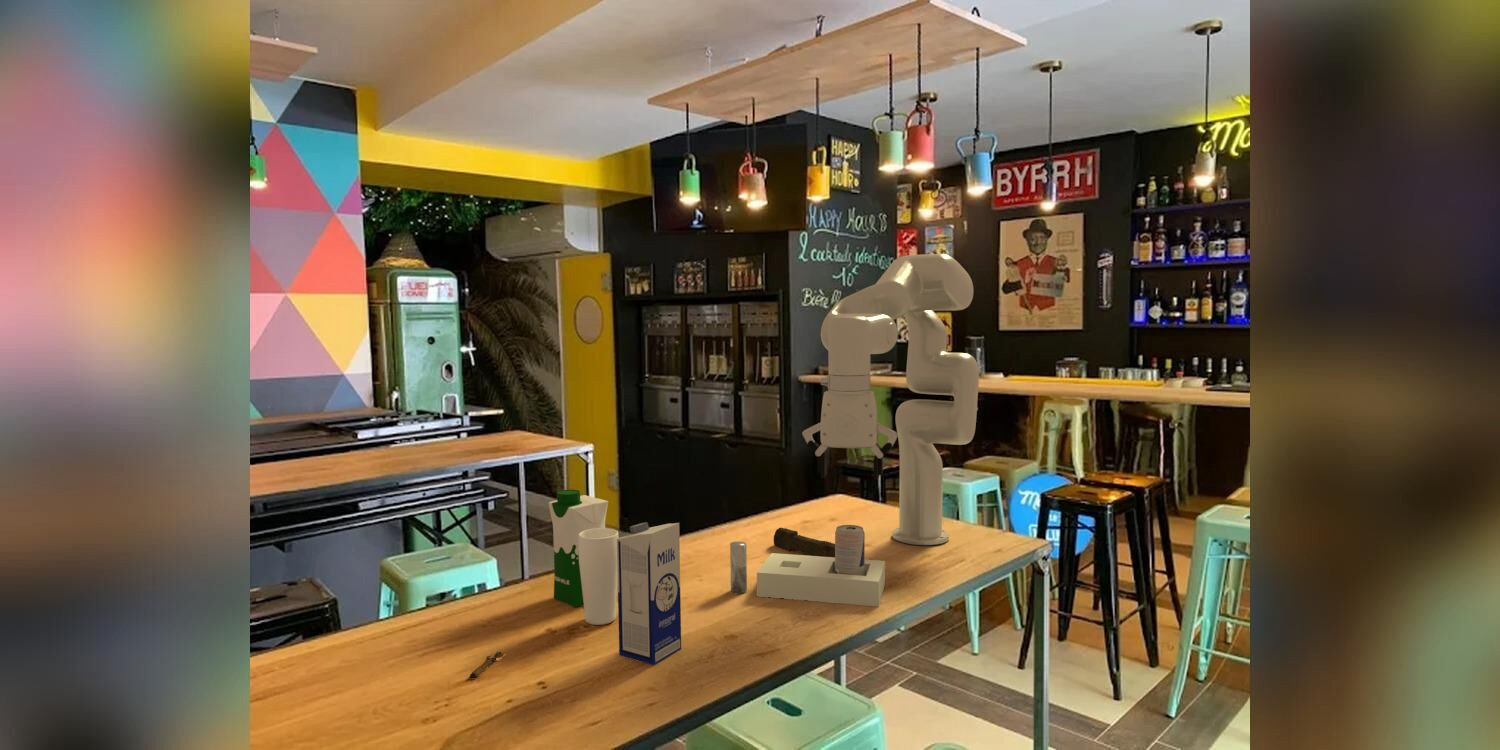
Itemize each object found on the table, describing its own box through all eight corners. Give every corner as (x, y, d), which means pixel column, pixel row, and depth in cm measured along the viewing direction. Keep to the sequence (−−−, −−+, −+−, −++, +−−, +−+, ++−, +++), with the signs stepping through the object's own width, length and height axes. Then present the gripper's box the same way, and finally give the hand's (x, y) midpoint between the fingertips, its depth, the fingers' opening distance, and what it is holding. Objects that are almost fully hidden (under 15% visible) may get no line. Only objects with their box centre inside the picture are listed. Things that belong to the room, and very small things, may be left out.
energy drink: (866, 589, 150) (867, 525, 149) (861, 598, 145) (861, 533, 144) (838, 586, 152) (838, 523, 151) (832, 595, 147) (832, 530, 146)
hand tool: (849, 561, 167) (849, 539, 167) (837, 566, 164) (837, 544, 164) (782, 544, 181) (782, 524, 180) (770, 548, 178) (769, 527, 177)
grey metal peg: (733, 587, 151) (732, 541, 151) (748, 589, 151) (748, 542, 150) (728, 593, 149) (728, 545, 148) (744, 594, 148) (744, 546, 147)
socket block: (772, 575, 158) (771, 553, 158) (885, 584, 153) (885, 560, 152) (757, 596, 147) (756, 572, 146) (878, 606, 141) (878, 581, 141)
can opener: (475, 681, 114) (475, 673, 114) (461, 679, 115) (461, 672, 115) (510, 656, 123) (510, 648, 123) (497, 654, 124) (497, 646, 124)
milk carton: (653, 665, 118) (650, 532, 117) (618, 655, 122) (615, 526, 120) (682, 648, 124) (680, 521, 123) (648, 639, 128) (645, 515, 126)
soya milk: (546, 598, 146) (543, 490, 145) (587, 586, 153) (585, 482, 151) (574, 610, 140) (571, 498, 139) (616, 597, 147) (613, 489, 145)
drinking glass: (586, 631, 132) (584, 541, 130) (575, 617, 137) (573, 531, 136) (626, 623, 135) (624, 535, 133) (613, 610, 141) (611, 525, 139)
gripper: (798, 386, 144) (799, 480, 146) (896, 387, 140) (896, 484, 141) (806, 381, 151) (807, 471, 153) (899, 382, 147) (899, 475, 148)
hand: (849, 477), depth 147 cm, fingers open, 9 cm apart
